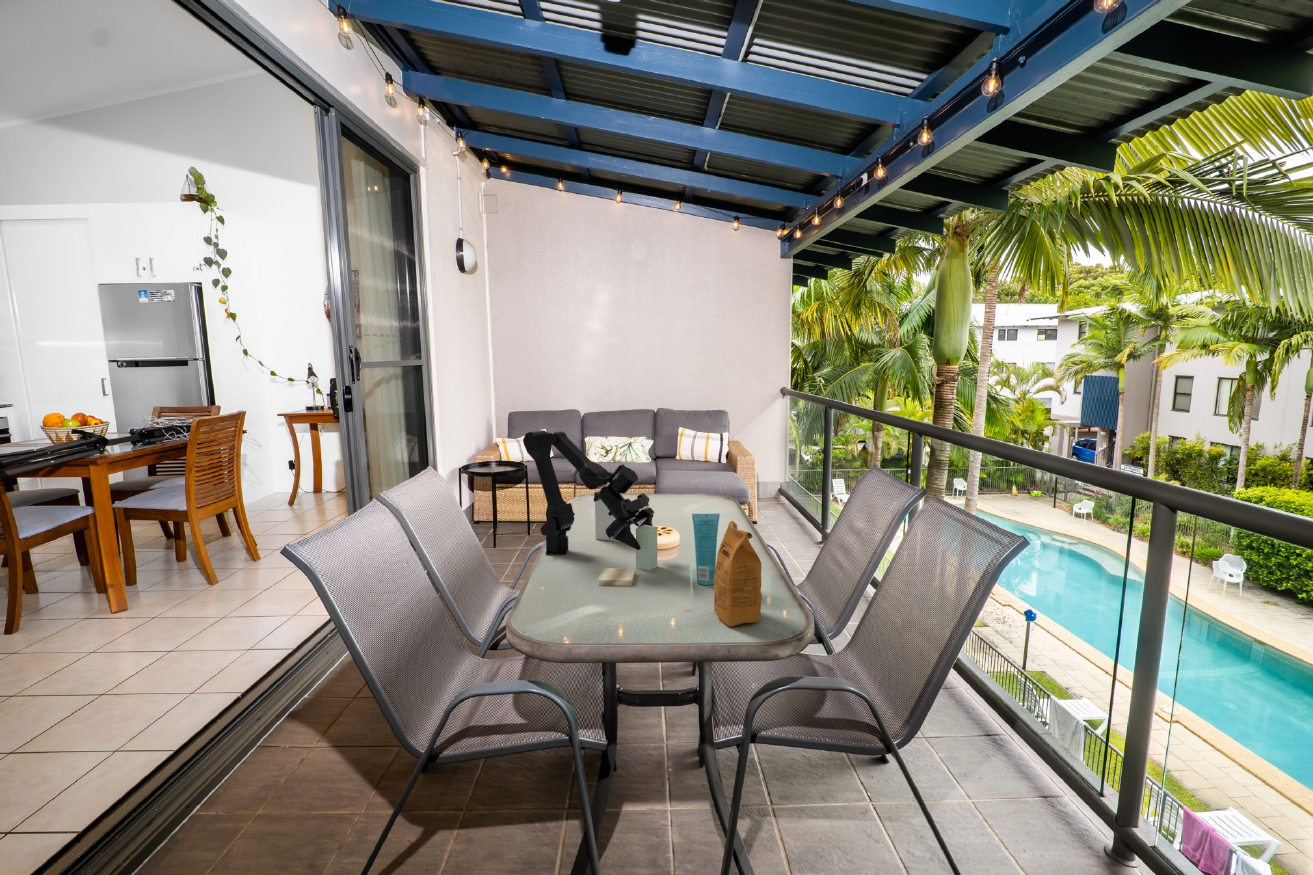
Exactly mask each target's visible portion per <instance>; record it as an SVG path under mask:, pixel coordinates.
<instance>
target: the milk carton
mask: <svg viewBox="0 0 1313 875" xmlns="http://www.w3.org/2000/svg"><path fill="white" fill-rule="evenodd" d="M609 484H610V483H608V484H607V485H606V486H608V485H609ZM620 494H621V495H622V496H623V494H622V493H620ZM609 512H610V511H609V510H608V508H607V507H606V506H605V505H604V503H603V502H602V501H601V500H599V501H596V502H594V517H595V518H594V520H595V521H594V523H595V524H594V525H595V526H594V527H595V533H594V534H595V540H602V541H603V540H604V541H612V542H613V541H616V540H614V539H613V538H614V537H613V538H611V539H609V538H608V536H607V535H606V528H607V527H608V526H609V525H610V524H611V523H612V522H613V521H614V520H616V519H615V518H614V516H613V515H612V516H609V515H608V513H609Z"/></svg>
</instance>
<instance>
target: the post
mask: <svg viewBox="0 0 1313 875" xmlns="http://www.w3.org/2000/svg"><path fill="white" fill-rule="evenodd" d="M635 539H636V540H637V542H638V543H639V545H640V547H641V549H640V550H637V549H635V569H639V570H643V571H648V572H650V571H651V570H654V569H655V568H657V567H658V526H654V525H653V526H648V525H643V526H640V527H639V526H637V527H636V528H635Z"/></svg>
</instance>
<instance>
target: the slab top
mask: <svg viewBox="0 0 1313 875" xmlns="http://www.w3.org/2000/svg"><path fill="white" fill-rule="evenodd" d="M635 569H636V568H615V567H614V568H610V567H608V568H602V569H601V571H600V575H599V577H598V584H597V585H598V586H632V585H633V582H634V578H635V574H636V573H635V572H636V570H635Z"/></svg>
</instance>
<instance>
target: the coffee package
mask: <svg viewBox="0 0 1313 875" xmlns="http://www.w3.org/2000/svg"><path fill="white" fill-rule="evenodd" d="M750 539H753V535H752V533H751V532H748V531H745V530H740V529H738V524H737V523H736V522H734V520H730V521H729V523H728V525H727V528H726V531H725V533H724V536H723V537H722V539H721V542H720V545H719V548H718V552H717V555H716V567H715V576H714V584H713V586H714V587H713V588H714V598H713V607H714V608H713V610H714V612H715V613H716V614H715V615H716V616H717V618H718V620H719V621H720V622H722V623H724V625H726V626H727V627H735V626H738V625H742V624H751V623H752V624H753V623H757V622H760V621H761V609H762V602H763V601H762V598H763V595H762V591H761V590H762V561H761V559H760V557H759V556H758V553H757V552H756V550H755V548H754V547H753V545H752V544H751V542H750Z"/></svg>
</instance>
